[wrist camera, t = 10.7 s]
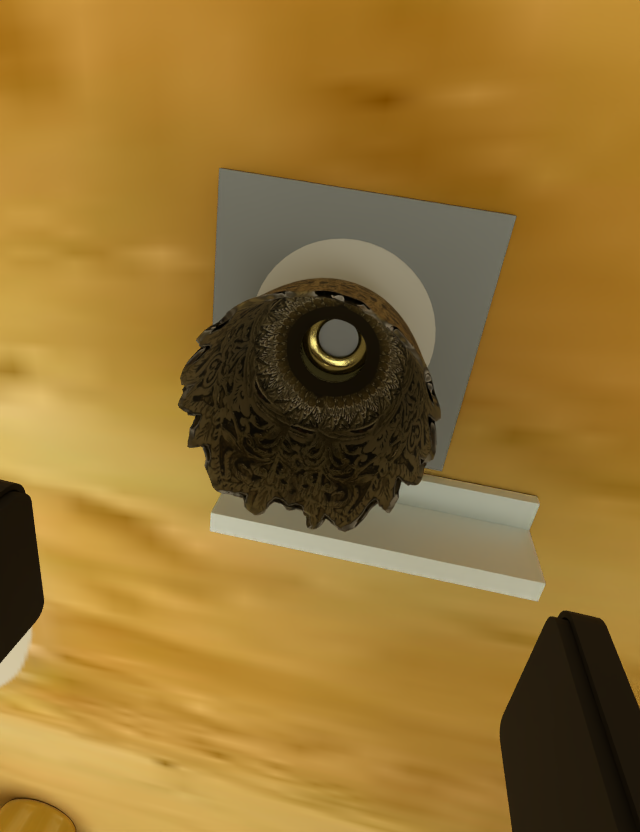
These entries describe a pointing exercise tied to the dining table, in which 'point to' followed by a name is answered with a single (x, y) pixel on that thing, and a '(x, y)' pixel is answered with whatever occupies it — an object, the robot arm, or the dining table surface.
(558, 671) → the robot arm
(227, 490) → the ornate metal lamp shade
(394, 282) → the rest pad
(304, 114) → the dining table surface
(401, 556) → the low wall
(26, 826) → the plant pot
